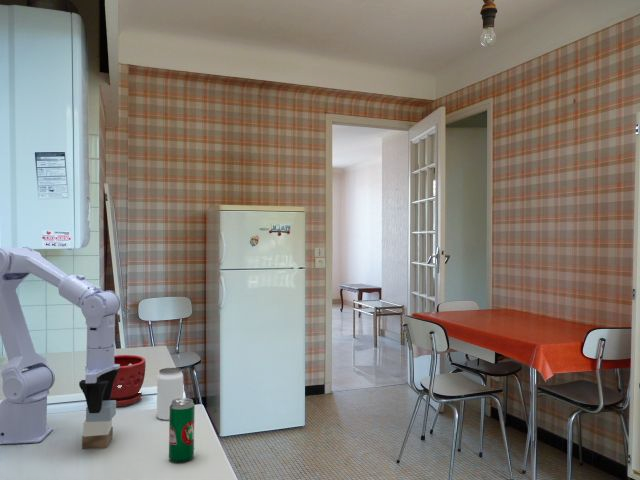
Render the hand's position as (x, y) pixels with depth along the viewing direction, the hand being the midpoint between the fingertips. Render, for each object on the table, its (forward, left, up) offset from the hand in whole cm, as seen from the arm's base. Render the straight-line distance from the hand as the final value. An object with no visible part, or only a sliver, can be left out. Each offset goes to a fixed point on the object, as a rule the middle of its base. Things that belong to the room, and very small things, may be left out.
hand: (99, 406), depth 110 cm
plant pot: (-2, +30, -8) cm, 31 cm away
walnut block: (0, 0, -8) cm, 8 cm away
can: (+13, +16, -8) cm, 22 cm away
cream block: (0, 0, -5) cm, 5 cm away
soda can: (+19, -10, -8) cm, 23 cm away
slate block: (0, 0, -2) cm, 2 cm away
